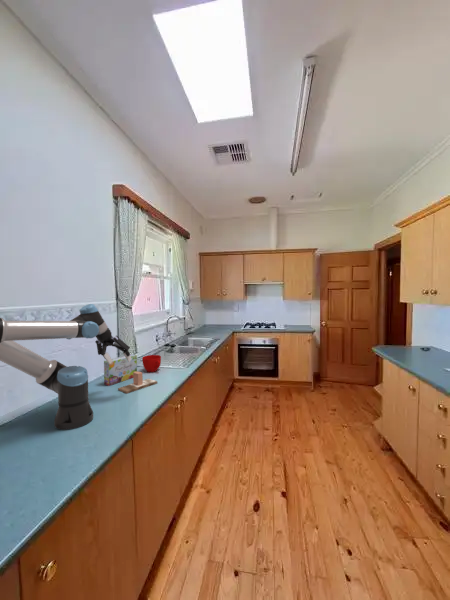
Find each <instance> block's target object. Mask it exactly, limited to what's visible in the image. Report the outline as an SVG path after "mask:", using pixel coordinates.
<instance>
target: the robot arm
mask: <svg viewBox="0 0 450 600" xmlns="http://www.w3.org/2000/svg"><path fill="white" fill-rule="evenodd" d="M79 313H80V314H78V315H77V316H75V317H73V318H72V319H71V320H5V319H3V317H0V362H2V363H4V364H5V365H8V366H11V367H12V368H14V369H16V370H19V371H21V372H22V373H25V374H26V375H29V376H31V377H33V378H34V379H35V382H36V384H38V385H40V386H42V387H45V388H46V389H48V390H50V391H52V392H54V393H56V394H57V397H58V398H57V399H58V400H57V402H58V408H57V410H56V414H55V417H54V420H53V421H54V422H53V424H54V428H55V429H57V430H63V431H64V430H72V429H77V428H81V427H83V426H85V425H87V424H89V423H90V422H92V420H93V419H94V412H93V408H92V406H91V403H90V401H89V375H88V370H87V368H85V367H84V366H80V365H78V366H77V365H71V366H67V365H65V364H63V363H61V362H60V361H58V360H56V359H51V360H48V359H47V358H45V357H43V356H41V355H39V354H38V353H36V352H34V351H33V350H30V348H26V347H25V346H23V345H21V344H20V343H17V342H16V341H33V340H34V341H35V340H59V339H66V340H71V339H81V338H82V339H83V338H85V339H94V338H96V340H95V342H94V343H95V344H96V348H97V354H98V355H99V356H100V355H101V356H102V357H103V358H104V360H105V361H107V362H108V364H111V363H112V362H113V361H112V359H113V358H111V356H110V354H109V353H108V352H107V347H109V346H110V347H114V348H116V349H118V350H119V351H121V352H122V354H123V356H125V357H126V359H127V361H128V362H130V361H131V359H132V358H131V356H130V351H129V350H130V348H131V347H130V346H129V345H128V344H127V343H126V342H124V341H123V340H122V339H120V337H119V335H115V336H113V335H112V332H111V329H110V328H109V326H108V325H107V323H106V322H105V320H104V318H103V316H102V315H101V312H100V311H99V309H98V308H97V306H96V305H95V304H94V303H89V304H86V305H83V306H82V307H81V308H80V309H79Z"/></svg>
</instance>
